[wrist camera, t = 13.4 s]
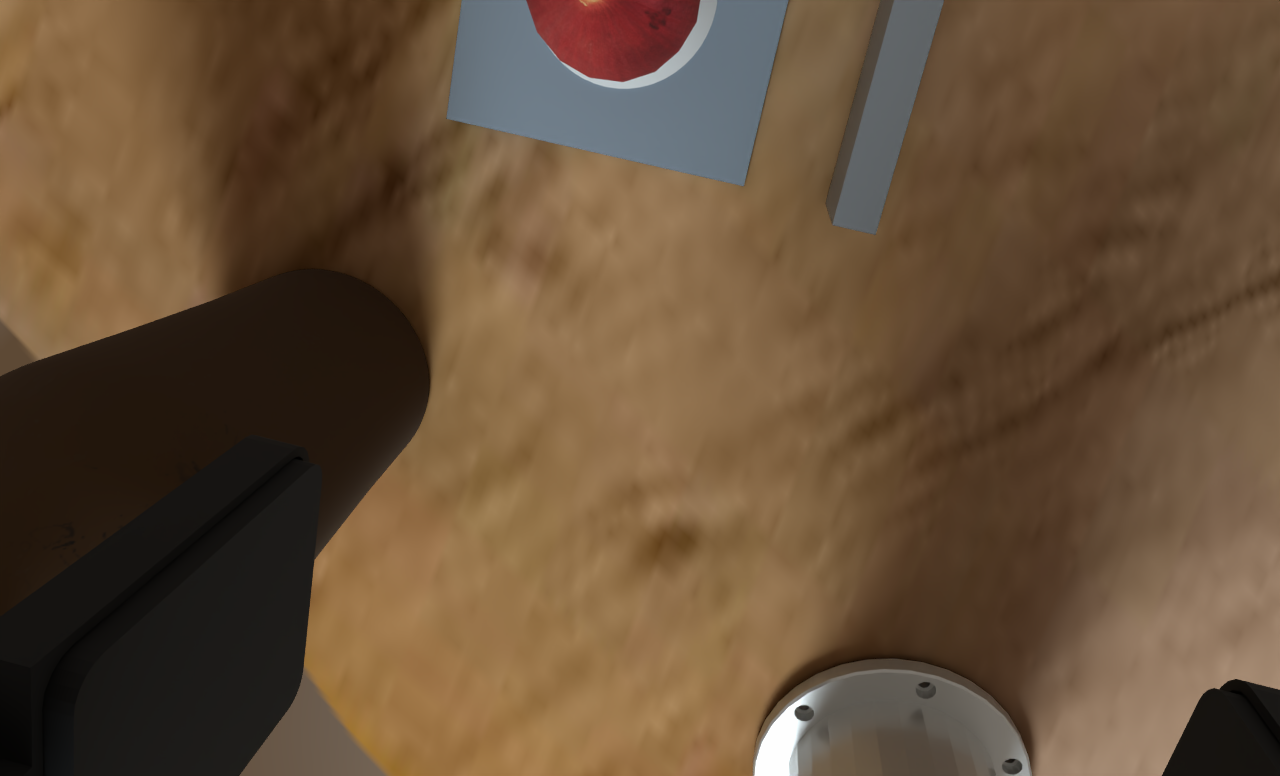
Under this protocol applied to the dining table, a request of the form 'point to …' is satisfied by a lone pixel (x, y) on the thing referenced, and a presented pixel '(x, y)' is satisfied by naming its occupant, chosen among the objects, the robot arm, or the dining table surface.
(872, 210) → the low wall
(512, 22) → the mat
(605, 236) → the dining table surface
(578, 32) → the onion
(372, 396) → the olive oil
